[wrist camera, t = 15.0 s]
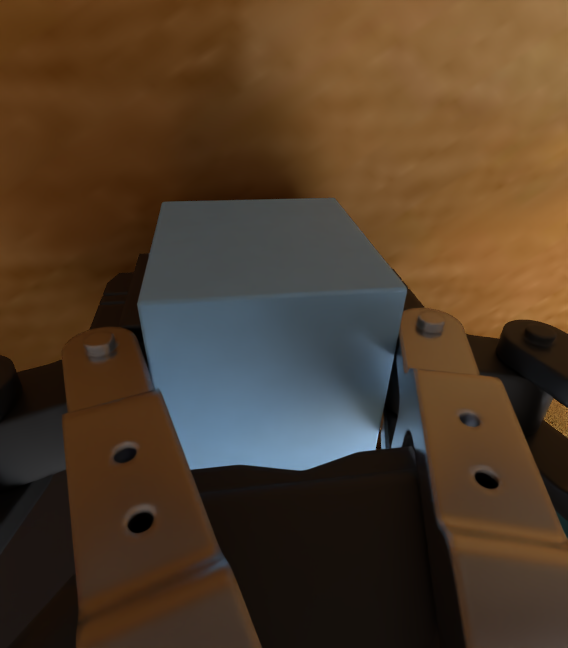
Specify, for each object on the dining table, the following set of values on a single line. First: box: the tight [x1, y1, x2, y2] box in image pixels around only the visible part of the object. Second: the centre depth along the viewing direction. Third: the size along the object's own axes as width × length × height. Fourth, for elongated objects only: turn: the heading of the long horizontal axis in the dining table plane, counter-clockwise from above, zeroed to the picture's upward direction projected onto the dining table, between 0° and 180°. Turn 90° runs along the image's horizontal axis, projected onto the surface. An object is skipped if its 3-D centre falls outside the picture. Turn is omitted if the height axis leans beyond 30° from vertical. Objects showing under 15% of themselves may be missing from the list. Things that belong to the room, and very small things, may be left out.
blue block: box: [137, 198, 407, 471], centre depth 10 cm, size 4×4×5 cm
